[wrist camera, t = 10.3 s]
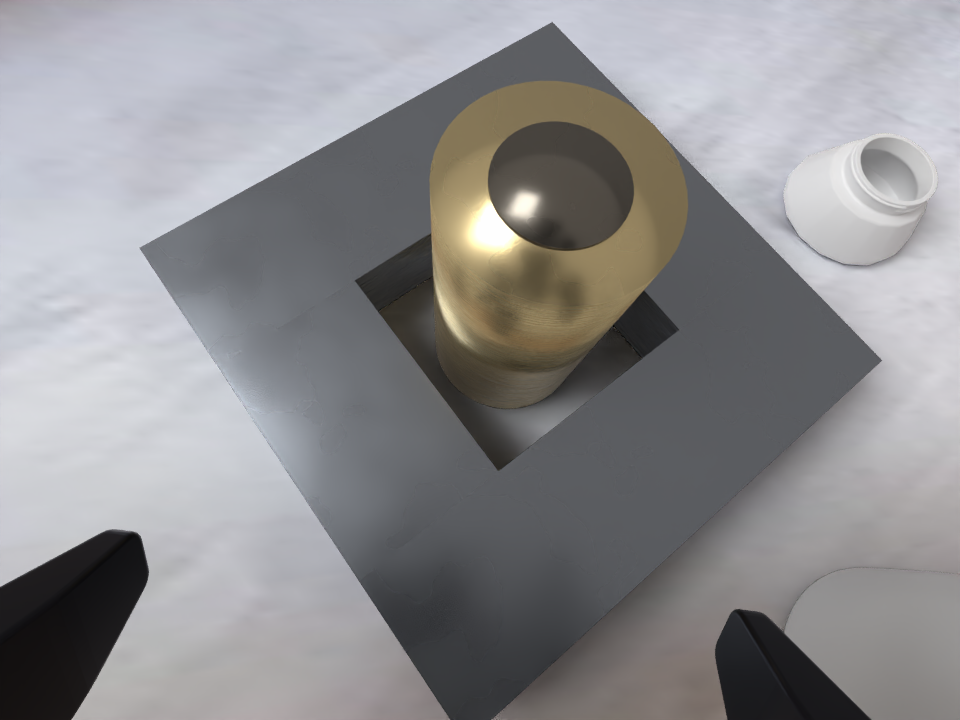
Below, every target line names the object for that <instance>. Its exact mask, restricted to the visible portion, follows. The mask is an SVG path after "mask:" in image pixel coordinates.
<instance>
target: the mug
mask: <svg viewBox="0 0 960 720" xmlns="http://www.w3.org/2000/svg"><path fill="white" fill-rule="evenodd" d="M784 633H785V634H786V635H787V636H788V637H789V638H790V639H791V640H792V641H793V642H794V643H795V644H796V645H797V646H798V647H799V648H800V649H801V650H802V651H803V652H804V653H805V654H806V655H807V656H808V657H809V658H810V659H811V660H812V661H813V662H814V663H815V664H816V665H817V666H818V667H819V668H820V669H821V670H822V671H823V672H824V673H825V674H826V675H827V676H828V677H829V678H830V679H831V680H832V681H833V682H834V683H835V684H836V685H837V686H838V687H839V688H840V689H841V690H842V691H843V692H844V693H845V694H846V695H847V696H848V697H849V698H850V699H851V700H852V701H853V702H854V703H855V704H856V705H857V706H858V707H859V708H860V709H861V710H862V711H863V712H864V713H865V714H866V715H867V716H868V717H869V718H870V719H871V720H960V574H953V573H942V572H930V571H917V570H900V569H882V568H848V569H843V570H839V571H835V572H833V573H830V574H828V575H826V576H824V577H822V578H820V579H819V580H817V581H816V582H814V583H813V584H812V585H811V586H809V587H808V588H807V589H806V590H805V591H804V592H803V594H802V595H801V596H800V597H799V599H798V600H797V602H796V603H795V605H794V607H793V609H792V611H791V613H790V615H789V617H788V620H787V623H786V626H785V630H784Z"/></svg>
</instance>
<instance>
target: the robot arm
mask: <svg viewBox="0 0 960 720" xmlns="http://www.w3.org/2000/svg"><path fill="white" fill-rule="evenodd" d="M148 576H149V569H148V564H147V560H146V556H145V551H144V547H143V543H142V539H141V536H140V535H139V534H138V533H136V532H132V531H124V530H117V529H112V530H107V531H104V532H102V533H100V534H98V535H96V536H95V537H93V538H91V539H89V540H87V541H85V542H83V543H81V544H80V545H78V546H76V547H74V548H72V549H70V550H68V551H67V552H65V553H63V554H61V555H59V556H57V557H55V558H53V559H52V560H50V561H48V562H46V563H44V564H42V565H40V566H38V567H37V568H35V569H33V570H31V571H29V572H27V573H25V574H23V575H22V576H20V577H18V578H16V579H14V580H12V581H10V582H9V583H7V584H5V585H3V586H1V587H0V720H71V719H72V718H73V716H74V715H75V713H76V712H77V710H78V709H79V707H80V705H81V704H82V702H83V701H84V699H85V697H86V696H87V694H88V693H89V691H90V689H91V687H92V686H93V684H94V682H95V680H96V679H97V677H98V675H99V673H100V671H101V669H102V668H103V666H104V664H105V662H106V660H107V658H108V656H109V654H110V652H111V651H112V649H113V647H114V645H115V643H116V641H117V639H118V637H119V635H120V634H121V632H122V630H123V628H124V626H125V624H126V622H127V620H128V619H129V617H130V615H131V613H132V611H133V609H134V607H135V605H136V603H137V602H138V600H139V598H140V596H141V594H142V592H143V590H144V588H145V586H146V583H147V581H148ZM715 658H716V664H717V669H718V674H719V679H720V684H721V690H722V695H723V700H724V705H725V710H726V715H727V720H871V719H870V718H869V717H868V716H867V715H866V714H865V713H864V712H863V711H862V710H861V709H860V708H859V707H858V706H857V705H856V704H855V703H854V702H853V701H852V700H851V699H850V698H849V697H848V696H847V695H846V694H845V693H844V692H843V691H842V690H841V689H840V688H839V687H838V686H837V685H836V684H835V683H834V682H833V681H832V680H831V679H830V678H829V677H828V676H827V675H826V674H825V673H824V672H823V671H822V670H821V669H820V668H819V667H818V666H817V665H816V664H815V663H814V662H813V661H812V660H811V659H810V658H809V657H808V656H807V655H806V654H805V653H804V652H803V651H802V650H801V649H800V648H799V647H798V646H797V645H796V644H795V643H794V642H793V641H792V640H791V639H790V638H789V637H788V636H787V635H786V634H785V633H784V632H783V631H782V630H781V629H780V628H779V627H778V626H777V625H776V624H775V623H774V622H773V621H772V620H771V619H769V618H768V617H767V616H766V615H764V614H763V613H761V612H757V611H749V610H741V609H736V610H734V611H733V612H731V614H730V616H729V618H728V620H727V622H726V624H725V626H724V628H723V630H722V633H721V635H720V637H719V639H718V641H717V644H716V649H715Z"/></svg>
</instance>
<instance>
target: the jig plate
mask: <svg viewBox="0 0 960 720" xmlns="http://www.w3.org/2000/svg"><path fill="white" fill-rule="evenodd" d="M533 81H561V82H570V83H575V84H579V85H584V86H588V87H591V88H594V89H597V90H600V91H603V92H605V93H607V94H609V95H612V96H614V97H616V98H618V99H620V100H621V101H623V102H625V103H627V104H628V105H630V106H631V107H633V108H634V109H635V110H637V109H636V107H635V106H634V105H633V104H632V103H631V102H630V101H629V100H628V99H627V98H626V97H625V96H624V95H623V94H622V93H621V92H620V91H619V90H618V89H617V88H616V87H615V86H614V85H613V84H612V83H611V82H610V81H609V80H608V79H607V78H606V77H605V76H604V75H603V74H602V73H601V72H600V71H599V70H598V68H597V67H596V66H595V65H594V64H593V63H592V62H591V61H590V60H589V59H588V58H587V57H586V56H585V55H584V54H583V53H582V52H581V51H580V50H579V49H578V48H577V47H576V46H575V45H574V44H573V43H572V42H571V41H570V40H569V39H568V38H567V37H566V36H565V35H564V34H563V33H562V32H561V31H560V29H559V28H558V27H557V26H556V25H555V24H554V23H553V22H552V23H550V24H548V25H546V26H544V27H543V28H541V29H539V30H537V31H535V32H533V33H532V34H530V35H528V36H526V37H524V38H522V39H521V40H519V41H517V42H515V43H513V44H511V45H510V46H508V47H506V48H504V49H502V50H501V51H499V52H497V53H495V54H493V55H491V56H490V57H488V58H486V59H484V60H482V61H480V62H479V63H477V64H475V65H473V66H471V67H469V68H468V69H466V70H464V71H462V72H460V73H458V74H457V75H455V76H453V77H451V78H449V79H447V80H446V81H444V82H442V83H440V84H438V85H437V86H435V87H433V88H431V89H429V90H427V91H426V92H424V93H422V94H420V95H418V96H416V97H415V98H413V99H411V100H409V101H407V102H405V103H404V104H402V105H400V106H398V107H396V108H394V109H393V110H391V111H389V112H387V113H385V114H384V115H382V116H380V117H378V118H376V119H374V120H373V121H371V122H369V123H367V124H365V125H363V126H362V127H360V128H358V129H356V130H354V131H352V132H351V133H349V134H347V135H345V136H343V137H341V138H340V139H338V140H336V141H334V142H332V143H330V144H329V145H327V146H325V147H323V148H321V149H320V150H318V151H316V152H314V153H312V154H310V155H309V156H307V157H305V158H303V159H301V160H299V161H298V162H296V163H294V164H292V165H290V166H288V167H287V168H285V169H283V170H281V171H279V172H277V173H276V174H274V175H272V176H270V177H268V178H267V179H265V180H263V181H261V182H259V183H257V184H256V185H254V186H252V187H250V188H248V189H246V190H245V191H243V192H241V193H239V194H237V195H235V196H234V197H232V198H230V199H228V200H226V201H224V202H223V203H221V204H219V205H217V206H215V207H213V208H212V209H210V210H208V211H206V212H204V213H203V214H201V215H199V216H197V217H195V218H193V219H192V220H190V221H188V222H186V223H184V224H182V225H181V226H179V227H177V228H175V229H173V230H171V231H170V232H168V233H166V234H164V235H162V236H160V237H159V238H157V239H155V240H153V241H151V242H150V243H148V244H146V245H144V246H142V247H140V249H141V251H142V252H143V254H144V256H145V257H146V259H147V260H148V262H149V263H150V265H151V266H152V268H153V269H154V271H155V272H156V274H157V275H158V277H159V278H160V280H161V281H162V283H163V284H164V286H165V287H166V289H167V290H168V292H169V293H170V295H171V296H172V298H173V300H174V301H175V303H176V304H177V306H178V307H179V309H180V310H181V312H182V313H183V315H184V316H185V318H186V319H187V321H188V322H189V324H190V325H191V327H192V328H193V330H194V331H195V333H196V334H197V336H198V337H199V339H200V340H201V342H202V344H203V345H204V347H205V348H206V350H207V351H208V353H209V354H210V356H211V357H212V359H213V360H214V362H215V363H216V365H217V366H218V368H219V369H220V371H221V372H222V374H223V375H224V377H225V378H226V380H227V381H228V383H229V384H230V386H231V388H232V389H233V391H234V392H235V394H236V395H237V397H238V398H239V400H240V401H241V403H242V404H243V406H244V407H245V409H246V410H247V412H248V413H249V415H250V416H251V418H252V419H253V421H254V422H255V424H256V425H257V427H258V428H259V430H260V432H261V433H262V435H263V436H264V438H265V439H266V441H267V442H268V444H269V445H270V447H271V448H272V450H273V451H274V453H275V454H276V456H277V457H278V459H279V460H280V462H281V463H282V465H283V466H284V468H285V469H286V471H287V472H288V474H289V476H290V477H291V479H292V480H293V482H294V483H295V485H296V486H297V488H298V489H299V491H300V492H301V494H302V495H303V497H304V498H305V500H306V501H307V503H308V504H309V506H310V507H311V509H312V510H313V512H314V513H315V515H316V516H317V518H318V519H319V521H320V523H321V524H322V526H323V527H324V529H325V530H326V532H327V533H328V535H329V536H330V538H331V539H332V541H333V542H334V544H335V545H336V547H337V548H338V550H339V551H340V553H341V554H342V556H343V557H344V559H345V560H346V562H347V563H348V565H349V567H350V568H351V570H352V571H353V573H354V574H355V576H356V577H357V579H358V580H359V582H360V583H361V585H362V586H363V588H364V589H365V591H366V592H367V594H368V595H369V597H370V598H371V600H372V601H373V603H374V604H375V606H376V607H377V609H378V611H379V612H380V614H381V615H382V617H383V618H384V620H385V621H386V623H387V624H388V626H389V627H390V629H391V630H392V632H393V633H394V635H395V636H396V638H397V639H398V641H399V642H400V644H401V645H402V647H403V648H404V650H405V651H406V653H407V655H408V656H409V658H410V659H411V661H412V662H413V664H414V665H415V667H416V668H417V670H418V671H419V673H420V674H421V676H422V677H423V679H424V680H425V682H426V683H427V685H428V686H429V688H430V689H431V691H432V692H433V694H434V695H435V697H436V699H437V700H438V702H439V703H440V705H441V706H442V708H443V709H444V711H445V712H446V714H447V715H448V717H449V718H450V720H492V719H493V718H494V717H495V716H496V715H497V714H498V713H499V712H500V711H501V710H502V709H504V708H505V707H506V706H507V705H508V704H509V703H510V702H511V701H512V700H513V699H514V698H516V697H517V696H518V695H519V694H520V693H521V692H522V691H523V690H524V689H525V688H526V687H527V686H529V685H530V684H531V683H532V682H533V681H534V680H535V679H536V678H537V677H538V676H539V675H541V674H542V673H543V672H544V671H545V670H546V669H547V668H548V667H549V666H550V665H551V664H552V663H554V662H555V661H556V660H557V659H558V658H559V657H560V656H561V655H562V654H563V653H564V652H566V651H567V650H568V649H569V648H570V647H571V646H572V645H573V644H574V643H575V642H576V641H577V640H579V639H580V638H581V637H582V636H583V635H584V634H585V633H586V632H587V631H588V630H589V629H591V628H592V627H593V626H594V625H595V624H596V623H597V622H598V621H599V620H600V619H601V618H602V617H604V616H605V615H606V614H607V613H608V612H609V611H610V610H611V609H612V608H613V607H614V606H616V605H617V604H618V603H619V602H620V601H621V600H622V599H623V598H624V597H625V596H626V595H628V594H629V593H630V592H631V591H632V590H633V589H634V588H635V587H636V586H637V585H638V584H639V583H641V582H642V581H643V580H644V579H645V578H646V577H647V576H648V575H649V574H650V573H651V572H653V571H654V570H655V569H656V568H657V567H658V566H659V565H660V564H661V563H662V562H663V561H664V560H666V559H667V558H668V557H669V556H670V555H671V554H672V553H673V552H674V551H675V550H676V549H678V548H679V547H680V546H681V545H682V544H683V543H684V542H685V541H686V540H687V539H688V538H689V537H691V536H692V535H693V534H694V533H695V532H696V531H697V530H698V529H699V528H700V527H701V526H703V525H704V524H705V523H706V522H707V521H708V520H709V519H710V518H711V517H712V516H713V515H715V514H716V513H717V512H718V511H719V510H720V509H721V508H722V507H723V506H724V505H725V504H726V503H728V502H729V501H730V500H731V499H732V498H733V497H734V496H735V495H736V494H737V493H738V492H740V491H741V490H742V489H743V488H744V487H745V486H746V485H747V484H748V483H749V482H750V481H751V480H753V479H754V478H755V477H756V476H757V475H758V474H759V473H760V472H761V471H762V470H763V469H765V468H766V467H767V466H768V465H769V464H770V463H771V462H772V461H773V460H774V459H775V458H776V457H778V456H779V455H780V454H781V453H782V452H783V451H784V450H785V449H786V448H787V447H788V446H790V445H791V444H792V443H793V442H794V441H795V440H796V439H797V438H798V437H799V436H800V435H801V434H803V433H804V432H805V431H806V430H807V429H808V428H809V427H810V426H811V425H812V424H813V423H815V422H816V421H817V420H818V419H819V418H820V417H821V416H822V415H823V414H824V413H825V412H827V411H828V410H829V409H830V408H831V407H832V406H833V405H834V404H835V403H836V402H837V401H838V400H840V399H841V398H842V397H843V396H844V395H845V394H846V393H847V392H848V391H849V390H850V389H852V388H853V387H854V386H855V385H856V384H857V383H858V382H859V381H860V380H861V379H862V378H863V377H865V376H866V375H867V374H868V373H869V372H870V371H871V370H872V369H873V368H874V367H875V366H877V365H878V364H879V363H880V362H881V361H882V360H881V359H880V358H879V357H878V356H877V355H876V354H875V353H874V352H873V351H872V350H871V349H870V348H869V347H868V346H867V344H866V343H865V342H864V341H863V340H862V339H861V338H860V337H859V336H858V335H857V334H856V333H855V332H854V331H853V330H852V329H851V328H850V327H849V326H848V325H847V324H846V323H845V322H844V321H843V320H842V319H841V318H840V317H839V316H838V315H837V314H836V313H835V312H834V311H833V310H832V309H831V308H830V307H829V306H828V304H827V303H826V302H825V301H824V300H823V299H822V298H821V297H820V296H819V295H818V294H817V293H816V292H815V291H814V290H813V289H812V288H811V287H810V286H809V285H808V284H807V283H806V282H805V281H804V280H803V279H802V278H801V277H800V276H799V275H798V274H797V273H796V272H795V271H794V270H793V269H792V268H791V267H790V265H789V264H788V263H787V262H786V261H785V260H784V259H783V258H782V257H781V256H780V255H779V254H778V253H777V252H776V251H775V250H774V249H773V248H772V247H771V246H770V245H769V244H768V243H767V242H766V241H765V240H764V239H763V238H762V237H761V236H760V235H759V234H758V233H757V232H756V231H755V230H754V229H753V228H752V226H751V225H750V224H749V223H748V222H747V221H746V220H745V219H744V218H743V217H742V216H741V215H740V214H739V213H738V212H737V211H736V210H735V209H734V208H733V207H732V206H731V205H730V204H729V203H728V202H727V201H726V200H725V199H724V198H723V197H722V196H721V195H720V194H719V193H718V192H717V191H716V190H715V189H714V188H713V186H712V185H711V184H710V183H709V182H708V181H707V180H706V179H705V178H704V177H703V176H702V175H701V174H700V173H699V172H698V171H697V170H696V169H695V168H694V167H693V166H692V165H691V164H690V163H689V162H688V161H687V160H686V159H685V158H684V157H683V156H682V155H681V154H680V153H679V152H678V151H677V150H676V149H675V147H674V146H673V145H672V144H671V143H670V142H669V141H668V140H667V139H666V138H665V139H666V140H667V142H668V143H669V145H670V146H671V148H672V149H673V151H674V153H675V155H676V157H677V159H678V161H679V163H680V166H681V169H682V171H683V174H684V177H685V182H686V187H687V194H688V213H687V222H686V226H685V230H684V234H683V236H682V239H681V241H680V243H679V246H678V248H677V250H676V251H675V253H674V254H673V256H672V258H671V259H670V261H669V262H668V263H667V264H666V265H665V267H664V268H663V269H662V270H661V271H660V272H659V274H658V275H657V276H656V277H655V278H654V279H653V280H652V282H651V283H650V284H649V285H648V286H647V287H646V288H645V289H644V291H643V292H642V293H641V294H640V295H639V296H638V297H637V299H636V300H635V301H634V302H633V303H632V304H631V305H630V306H629V308H628V309H627V310H626V311H625V312H624V313H623V314H622V316H621V317H620V318H619V319H618V320H617V321H616V322H615V323H614V326H615V327H616V328H617V329H618V330H619V332H620V333H621V334H622V335H623V336H624V337H625V339H626V340H627V341H628V342H629V343H630V344H631V345H632V347H633V348H634V349H635V350H636V351H637V352H638V354H639V355H640V356H641V357H642V358H643V359H641V360H640V361H639V362H637V363H636V364H635V365H634V366H632V367H631V368H630V369H629V370H627V371H626V372H625V373H623V374H622V375H621V376H620V377H618V378H617V379H616V380H614V381H613V382H612V383H611V384H609V385H608V386H607V387H606V388H604V389H603V390H602V391H600V392H599V393H598V394H597V395H595V396H594V397H593V398H592V399H590V400H589V401H588V402H586V403H585V404H584V405H583V406H581V407H580V408H579V409H577V410H576V411H575V412H574V413H572V414H571V415H570V416H569V417H567V418H566V419H565V420H563V421H562V422H561V423H560V424H558V425H557V426H556V427H555V428H553V429H552V430H551V431H549V432H548V433H547V434H546V435H544V436H543V437H542V438H540V439H539V440H538V441H537V442H535V443H534V444H533V445H532V446H530V447H529V448H528V449H526V450H525V451H524V452H523V453H521V454H520V455H519V456H517V457H516V458H515V459H514V460H512V461H511V462H510V463H509V464H507V465H506V466H505V467H503V468H502V469H501V470H500V471H498V470H497V469H496V467H495V466H494V465H493V463H492V462H491V461H490V459H489V458H488V457H487V456H486V454H485V453H484V452H483V450H482V449H481V448H480V446H479V445H478V444H477V442H476V441H475V440H474V438H473V437H472V436H471V434H470V433H469V432H468V430H467V429H466V428H465V426H464V425H463V424H462V422H461V421H460V420H459V418H458V417H457V416H456V414H455V413H454V412H453V410H452V409H451V408H450V406H449V405H448V404H447V402H446V401H445V400H444V398H443V397H442V396H441V395H440V393H439V392H438V391H437V389H436V388H435V387H434V385H433V384H432V383H431V381H430V380H429V379H428V377H427V376H426V375H425V373H424V372H423V371H422V369H421V368H420V367H419V365H418V364H417V363H416V361H415V360H414V359H413V357H412V356H411V355H410V353H409V352H408V351H407V349H406V348H405V347H404V345H403V344H402V343H401V341H400V340H399V339H398V337H397V336H396V335H395V334H394V332H393V331H392V330H391V328H390V327H389V326H388V324H387V323H386V322H385V320H384V319H383V318H382V316H381V315H380V314H379V312H378V311H379V310H380V309H382V308H384V307H385V306H387V305H388V304H390V303H391V302H393V301H394V300H396V299H397V298H399V297H401V296H402V295H404V294H405V293H407V292H408V291H410V290H411V289H413V288H414V287H416V286H417V285H419V284H421V283H422V282H424V281H425V280H427V279H428V278H430V277H431V276H433V263H432V236H431V209H430V182H429V179H430V170H431V163H432V160H433V156H434V152H435V150H436V147H437V145H438V143H439V141H440V138H441V137H442V135H443V134H444V132H445V130H446V129H447V127H448V126H449V125H450V123H451V122H452V121H453V120H454V119H455V118H456V117H457V115H458V114H460V113H461V112H462V111H463V110H464V109H465V108H466V107H468V106H469V105H470V104H472V103H473V102H475V101H476V100H478V99H479V98H481V97H483V96H485V95H487V94H489V93H491V92H493V91H495V90H498V89H501V88H504V87H507V86H510V85H515V84H519V83H524V82H533ZM637 111H638V110H637ZM638 112H639V111H638Z"/></svg>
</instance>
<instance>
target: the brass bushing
mask: <svg viewBox="0 0 960 720" xmlns="http://www.w3.org/2000/svg"><path fill="white" fill-rule="evenodd" d="M429 182H430V209H431V236H432V263H433V290H434V317H435V344H436V352H437V356H438V359H439V362H440V365H441V367H442V369H443V371H444V373H445V374H446V376H447V377H448V379H449V380H450V381H451V383H452V384H453V385H454V386H455V387H456V388H457V389H458V390H459V391H460V392H462V393H463V394H464V395H466V396H467V397H469V398H470V399H472V400H474V401H476V402H478V403H481V404H484V405H487V406H490V407H495V408H504V409H510V408H520V407H525V406H529V405H532V404H535V403H537V402H539V401H541V400H543V399H544V398H546V397H547V396H549V395H550V394H551V393H553V392H554V391H555V390H556V389H557V388H558V387H559V386H560V385H561V383H562V382H563V381H564V380H565V379H566V378H567V377H568V376H569V374H570V373H571V372H572V371H573V370H574V369H575V368H576V366H577V365H578V364H579V363H580V362H581V361H582V360H583V359H584V357H585V356H586V355H587V354H588V353H589V352H590V351H591V349H592V348H593V347H594V346H595V345H596V344H597V343H598V342H599V340H600V339H601V338H602V337H603V336H604V335H605V334H606V332H607V331H608V330H609V329H610V328H611V327H612V326H613V325H614V323H615V322H616V321H617V320H618V319H619V318H620V317H621V316H622V314H623V313H624V312H625V311H626V310H627V309H628V308H629V306H630V305H631V304H632V303H633V302H634V301H635V300H636V299H637V297H638V296H639V295H640V294H641V293H642V292H643V291H644V289H645V288H646V287H647V286H648V285H649V284H650V283H651V282H652V280H653V279H654V278H655V277H656V276H657V275H658V274H659V272H660V271H661V270H662V269H663V268H664V267H665V265H666V264H667V263H668V262H669V261H670V259H671V258H672V256H673V254H674V253H675V251H676V250H677V248H678V246H679V243H680V241H681V239H682V236H683V234H684V230H685V226H686V222H687V213H688V194H687V187H686V182H685V177H684V174H683V171H682V169H681V166H680V163H679V161H678V159H677V157H676V155H675V153H674V151H673V149H672V148H671V146H670V145H669V143H668V142H667V140H666V139H665V137H664V136H663V135H662V134H661V133H660V132H659V130H658V129H657V128H656V127H655V126H654V125H653V124H652V123H651V122H650V121H649V120H648V119H647V118H646V117H644V116H643V115H642V114H641V113H640V112H638V111H637V110H635V109H634V108H633V107H631V106H630V105H628V104H627V103H625V102H623V101H621V100H620V99H618V98H616V97H614V96H612V95H609V94H607V93H605V92H603V91H600V90H597V89H594V88H591V87H588V86H584V85H579V84H575V83H570V82H561V81H533V82H524V83H519V84H515V85H510V86H507V87H504V88H501V89H498V90H495V91H493V92H491V93H489V94H487V95H485V96H483V97H481V98H479V99H478V100H476V101H475V102H473V103H472V104H470V105H469V106H468V107H466V108H465V109H464V110H463V111H462V112H461V113H460V114H458V115H457V117H456V118H455V119H454V120H453V121H452V122H451V123H450V125H449V126H448V127H447V129H446V130H445V132H444V134H443V135H442V137H441V138H440V141H439V143H438V145H437V147H436V150H435V152H434V156H433V160H432V163H431V170H430V179H429Z"/></svg>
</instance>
